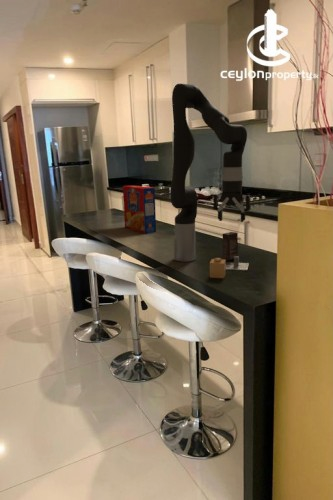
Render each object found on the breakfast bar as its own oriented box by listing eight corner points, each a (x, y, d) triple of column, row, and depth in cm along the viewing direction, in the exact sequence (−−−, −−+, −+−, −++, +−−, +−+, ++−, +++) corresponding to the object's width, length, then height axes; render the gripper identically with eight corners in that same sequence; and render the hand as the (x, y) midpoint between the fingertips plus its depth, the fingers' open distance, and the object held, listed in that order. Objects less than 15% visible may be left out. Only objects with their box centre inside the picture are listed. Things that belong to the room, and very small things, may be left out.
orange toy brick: (209, 277, 153) (209, 260, 151) (211, 273, 158) (211, 256, 156) (223, 278, 151) (224, 261, 149) (225, 274, 156) (225, 257, 155)
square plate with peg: (223, 269, 163) (223, 259, 162) (225, 263, 172) (225, 253, 171) (247, 270, 160) (247, 260, 159) (248, 264, 169) (249, 254, 168)
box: (230, 256, 183) (231, 231, 180) (238, 258, 179) (238, 232, 176) (221, 258, 179) (222, 233, 176) (229, 260, 176) (229, 234, 173)
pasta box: (124, 227, 263) (122, 186, 256) (135, 226, 267) (133, 185, 260) (145, 234, 240) (143, 188, 233) (156, 232, 244) (154, 187, 237)
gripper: (211, 179, 148) (211, 221, 151) (248, 180, 142) (247, 223, 146) (217, 178, 154) (216, 218, 158) (252, 178, 149) (251, 220, 152)
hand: (231, 221), depth 152 cm, fingers open, 8 cm apart
